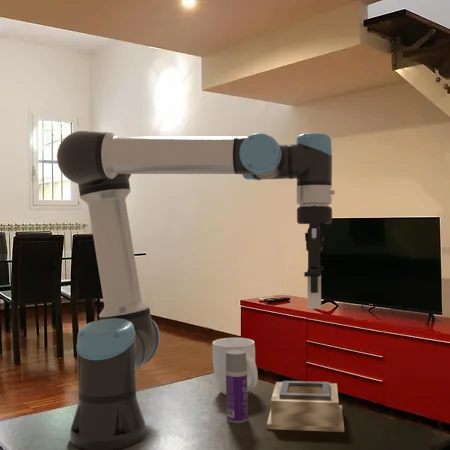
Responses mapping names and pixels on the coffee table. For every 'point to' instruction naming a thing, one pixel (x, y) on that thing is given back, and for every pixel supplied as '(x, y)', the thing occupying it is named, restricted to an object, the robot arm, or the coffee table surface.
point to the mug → (220, 360)
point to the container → (236, 386)
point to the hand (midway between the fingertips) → (314, 303)
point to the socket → (305, 407)
